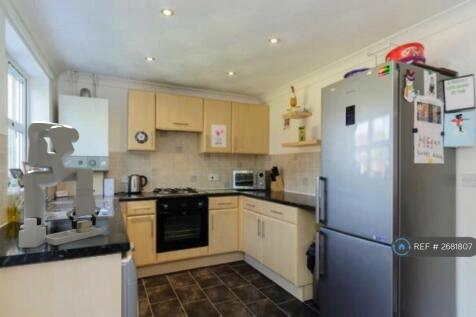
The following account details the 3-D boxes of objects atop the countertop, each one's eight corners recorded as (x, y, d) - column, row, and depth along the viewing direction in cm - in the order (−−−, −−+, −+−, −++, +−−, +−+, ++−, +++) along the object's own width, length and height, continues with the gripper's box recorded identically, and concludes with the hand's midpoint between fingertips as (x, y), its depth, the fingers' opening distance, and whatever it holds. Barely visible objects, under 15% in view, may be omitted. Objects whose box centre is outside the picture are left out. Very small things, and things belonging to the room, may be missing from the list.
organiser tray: (41, 241, 127) (41, 236, 127) (87, 231, 147) (87, 226, 147) (55, 245, 122) (55, 239, 122) (102, 234, 141) (102, 229, 141)
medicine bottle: (29, 243, 125) (29, 216, 125) (46, 242, 125) (46, 216, 126) (18, 247, 118) (18, 219, 118) (35, 247, 118) (36, 219, 118)
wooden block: (76, 234, 138) (76, 222, 138) (85, 232, 142) (85, 220, 142) (82, 235, 136) (82, 223, 136) (91, 233, 140) (91, 221, 140)
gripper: (95, 190, 149) (95, 223, 148) (62, 193, 134) (61, 229, 133) (104, 191, 145) (104, 224, 145) (71, 194, 130) (71, 231, 130)
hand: (84, 227), depth 139 cm, fingers open, 9 cm apart
